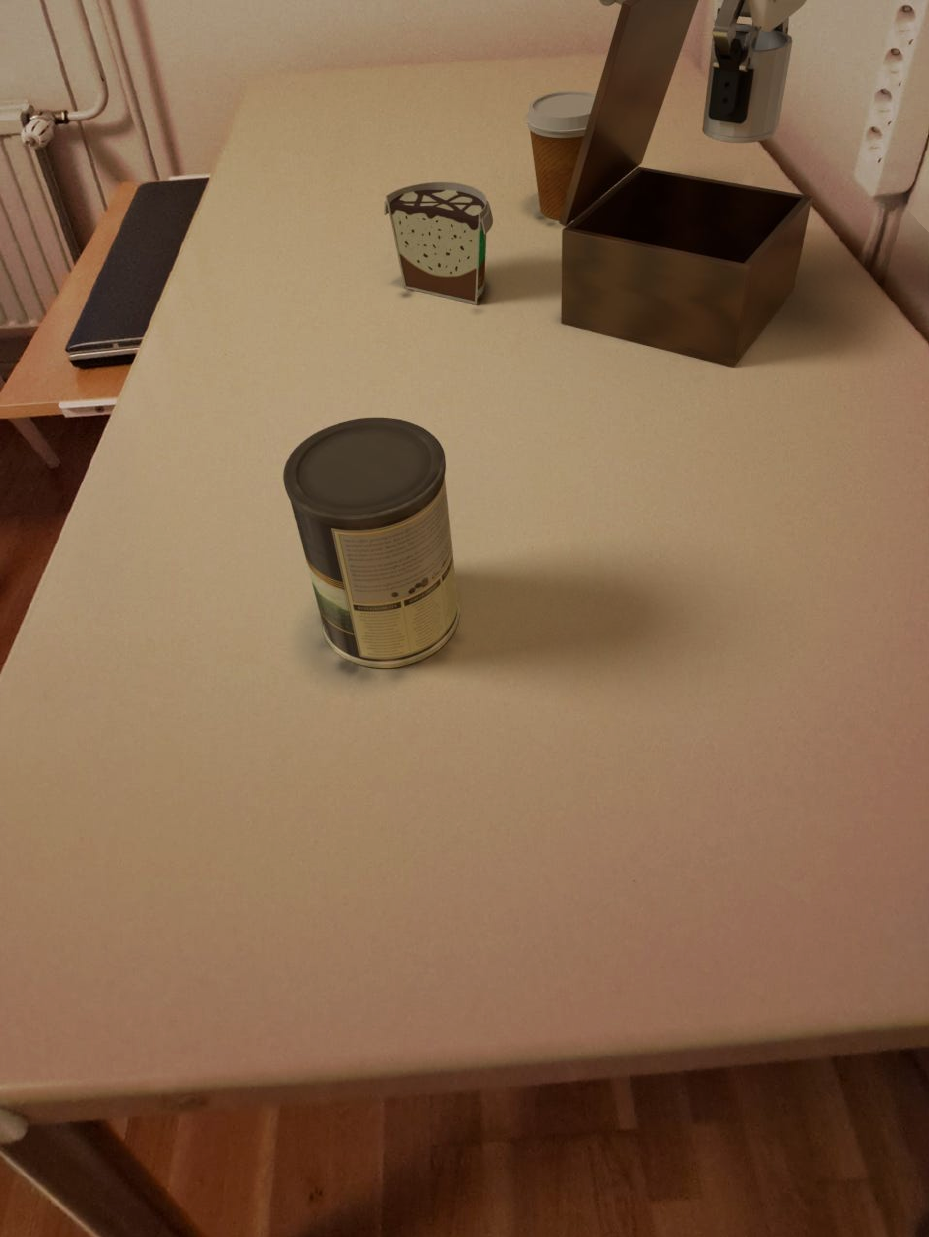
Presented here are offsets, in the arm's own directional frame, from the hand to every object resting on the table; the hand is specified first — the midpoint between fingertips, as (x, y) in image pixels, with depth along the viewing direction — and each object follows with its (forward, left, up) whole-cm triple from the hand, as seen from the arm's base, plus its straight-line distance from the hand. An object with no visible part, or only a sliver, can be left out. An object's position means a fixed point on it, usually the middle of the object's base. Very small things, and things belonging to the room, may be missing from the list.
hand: (743, 104), depth 81 cm
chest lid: (+10, 0, -1) cm, 10 cm away
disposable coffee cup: (+26, -16, -20) cm, 37 cm away
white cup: (0, 0, -2) cm, 2 cm away
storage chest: (+4, 0, -20) cm, 20 cm away
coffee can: (+4, +51, -20) cm, 55 cm away
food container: (+28, +6, -20) cm, 35 cm away
